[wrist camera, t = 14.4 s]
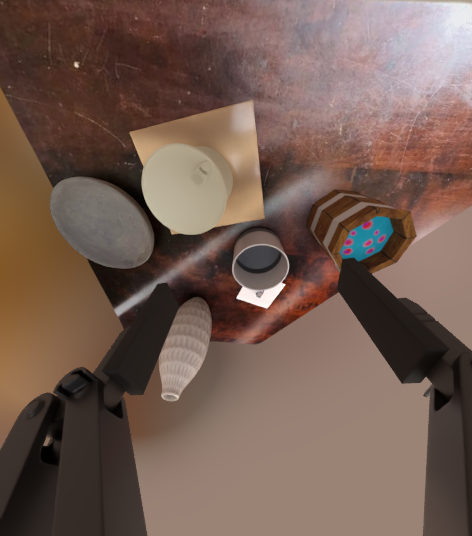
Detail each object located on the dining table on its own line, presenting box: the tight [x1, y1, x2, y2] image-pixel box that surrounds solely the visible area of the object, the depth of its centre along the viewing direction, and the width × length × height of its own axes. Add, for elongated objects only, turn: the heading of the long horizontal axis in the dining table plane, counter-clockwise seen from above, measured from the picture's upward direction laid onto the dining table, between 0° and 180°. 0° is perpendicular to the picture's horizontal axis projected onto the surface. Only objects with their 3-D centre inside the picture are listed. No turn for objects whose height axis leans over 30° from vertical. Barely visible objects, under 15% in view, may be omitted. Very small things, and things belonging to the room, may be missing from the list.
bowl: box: [50, 177, 154, 268], centre depth 41 cm, size 21×21×8 cm
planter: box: [232, 228, 289, 291], centre depth 44 cm, size 13×13×10 cm
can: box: [142, 143, 233, 235], centre depth 23 cm, size 9×9×12 cm
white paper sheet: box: [237, 283, 286, 308], centre depth 56 cm, size 12×12×2 cm
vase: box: [159, 297, 212, 401], centre depth 49 cm, size 13×13×28 cm
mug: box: [306, 190, 416, 274], centre depth 38 cm, size 20×14×15 cm
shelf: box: [129, 100, 265, 234], centre depth 33 cm, size 16×18×12 cm
